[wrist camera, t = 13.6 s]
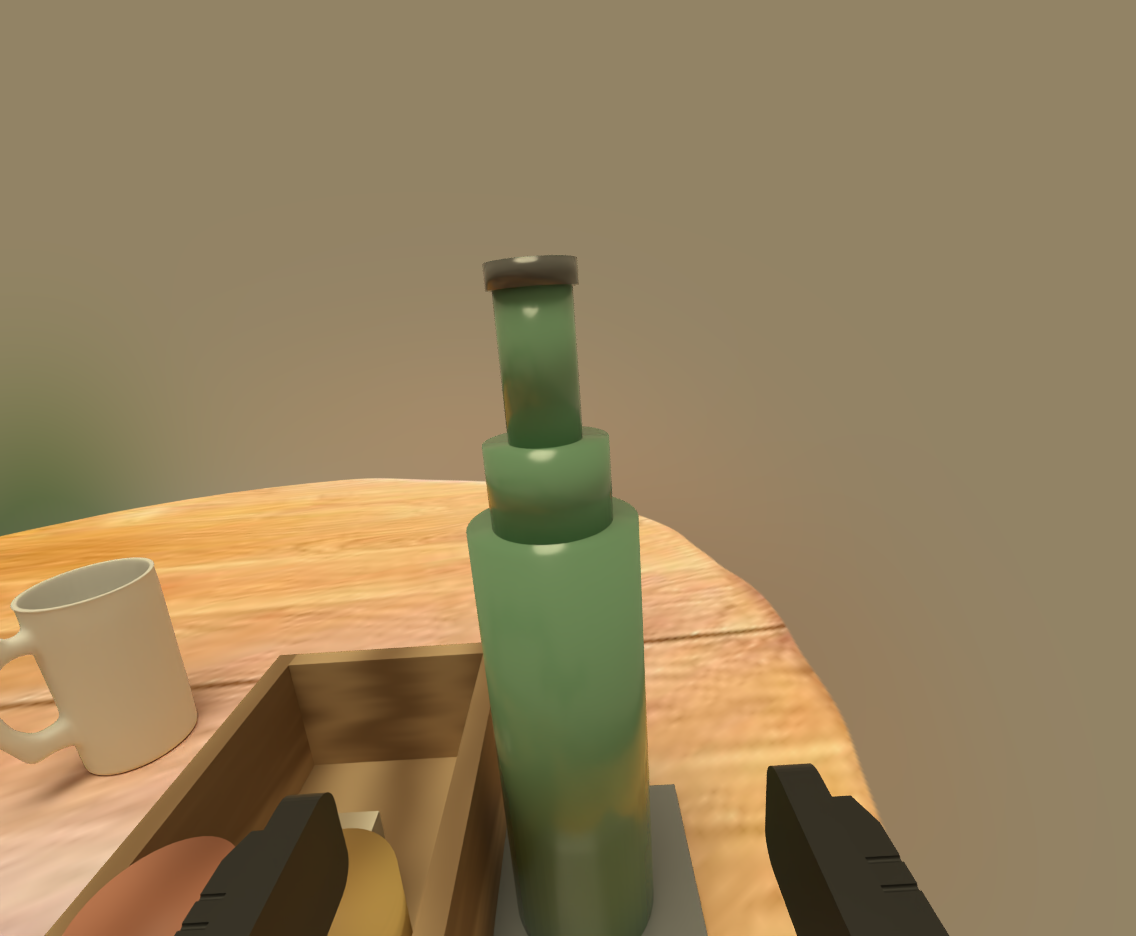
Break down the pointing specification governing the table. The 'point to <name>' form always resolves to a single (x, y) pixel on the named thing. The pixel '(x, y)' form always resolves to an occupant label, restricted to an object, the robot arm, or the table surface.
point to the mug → (103, 667)
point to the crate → (358, 784)
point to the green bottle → (561, 627)
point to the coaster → (676, 900)
